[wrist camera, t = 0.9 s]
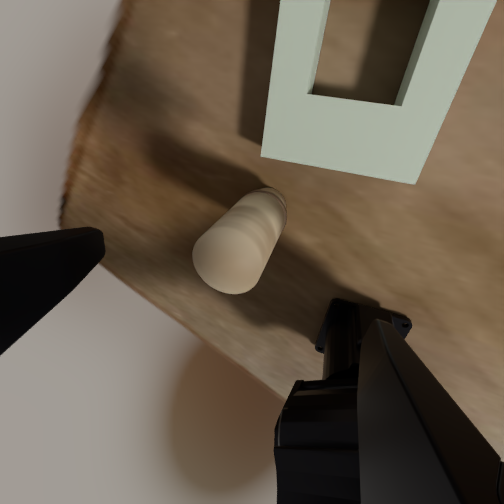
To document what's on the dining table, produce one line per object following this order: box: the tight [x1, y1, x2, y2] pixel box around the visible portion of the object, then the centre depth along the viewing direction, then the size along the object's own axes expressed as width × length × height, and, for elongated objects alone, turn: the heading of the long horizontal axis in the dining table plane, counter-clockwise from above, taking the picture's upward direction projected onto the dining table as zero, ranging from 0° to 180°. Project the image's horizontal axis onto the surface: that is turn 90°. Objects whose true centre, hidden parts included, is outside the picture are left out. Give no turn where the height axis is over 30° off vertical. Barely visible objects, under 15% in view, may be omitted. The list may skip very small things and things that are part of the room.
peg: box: [192, 188, 287, 294], centre depth 17 cm, size 4×4×9 cm
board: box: [261, 0, 497, 185], centre depth 14 cm, size 12×9×2 cm
